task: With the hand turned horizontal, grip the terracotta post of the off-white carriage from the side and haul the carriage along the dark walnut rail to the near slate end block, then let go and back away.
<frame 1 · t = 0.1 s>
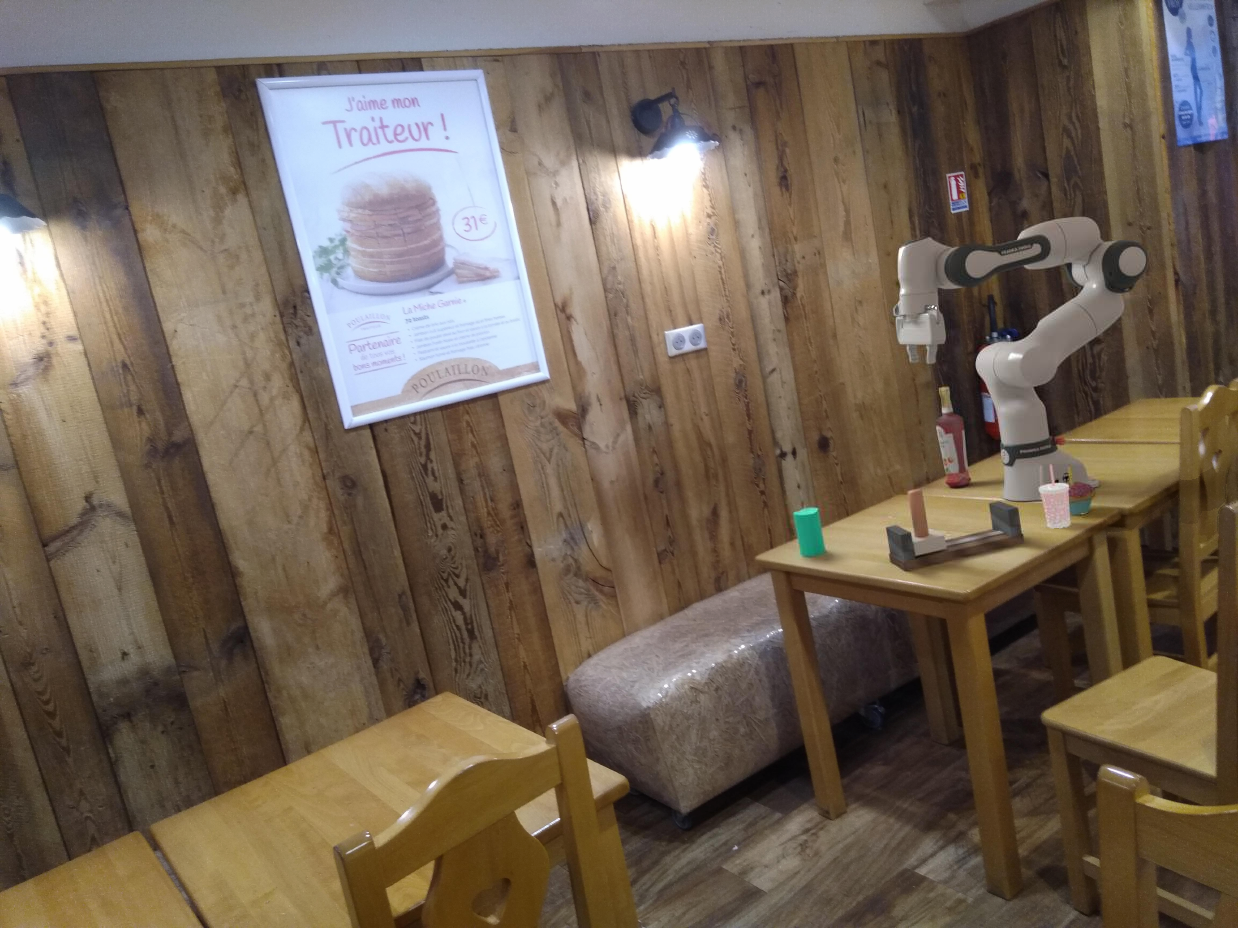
hand: (922, 363, 221), 39 cm above the table, tool pointing down, fingers open, 8 cm apart
carriage: (919, 519, 195), point 9 cm above the table, slide at 7.0 cm
candle: (813, 553, 219), on the table
rail: (956, 552, 197), on the table
beverage cup: (1059, 526, 200), on the table
cupcake: (1076, 513, 207), on the table
liquor: (959, 486, 252), on the table
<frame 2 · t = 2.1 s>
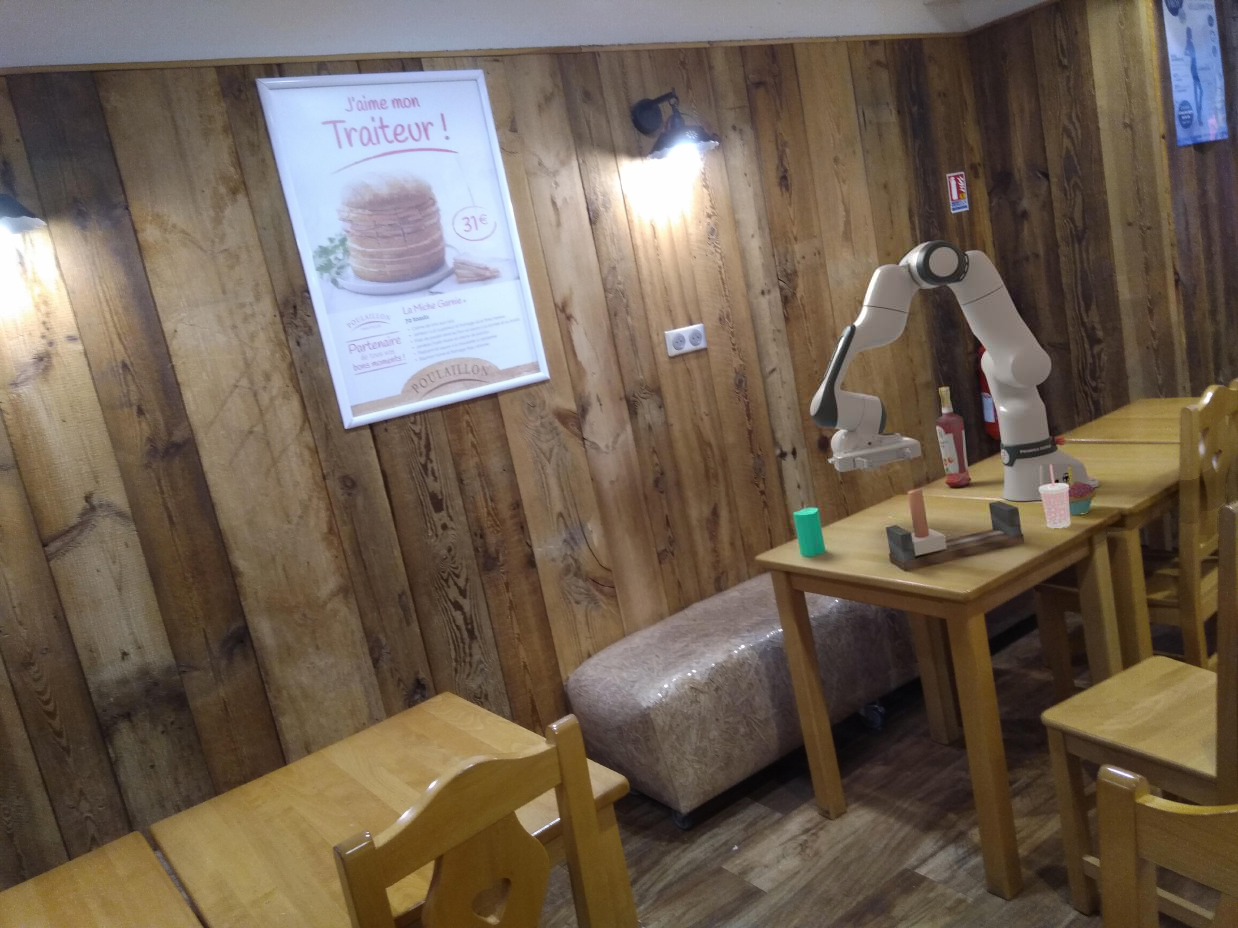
hand: (889, 460, 205), 21 cm above the table, tool horizontal, fingers open, 8 cm apart
nothing on the table moved.
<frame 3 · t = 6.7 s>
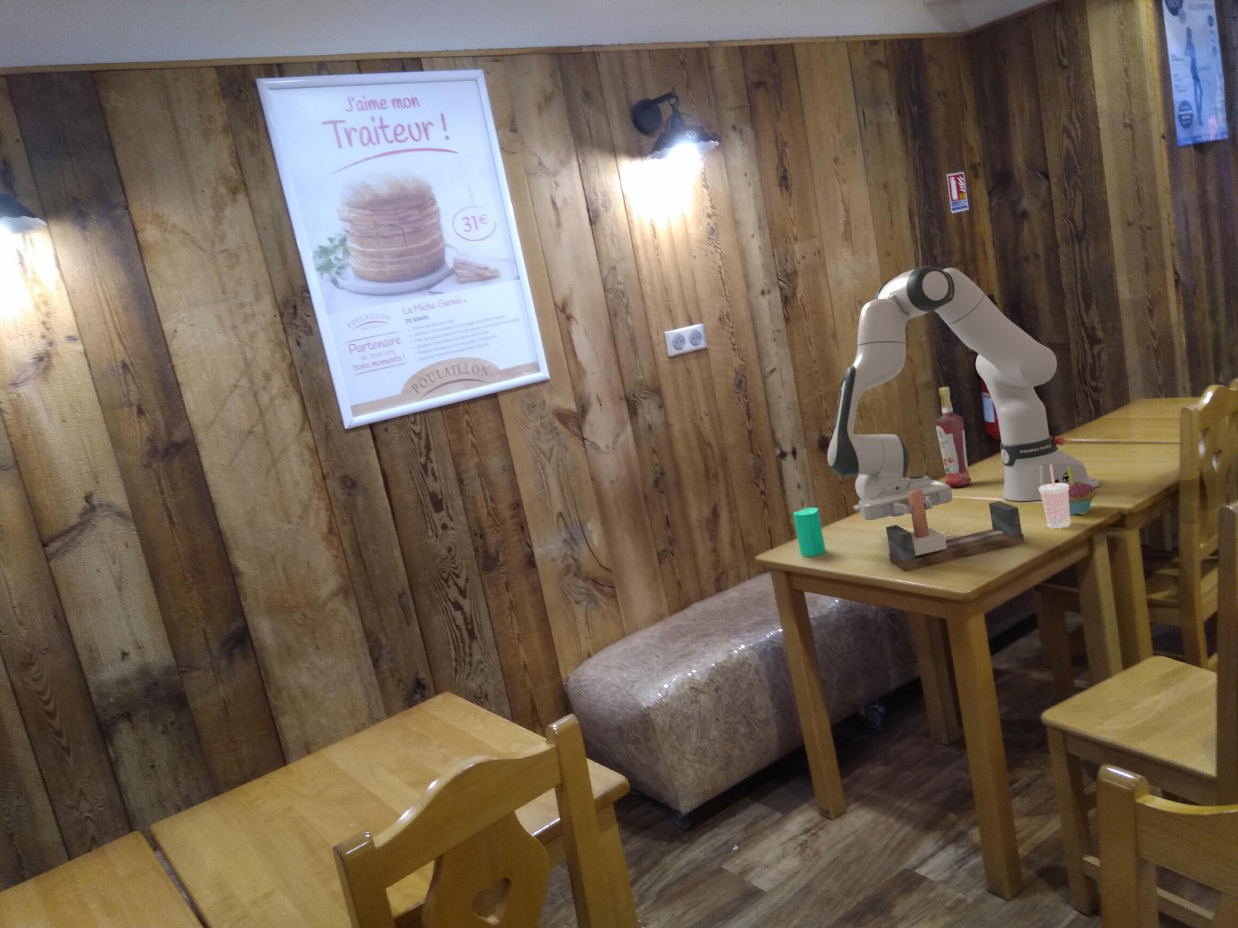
hand: (919, 507, 194), 12 cm above the table, tool horizontal, fingers closed on carriage, 3 cm apart
carriage: (919, 519, 195), point 9 cm above the table, slide at 7.0 cm, touching gripper
everything else where it was.
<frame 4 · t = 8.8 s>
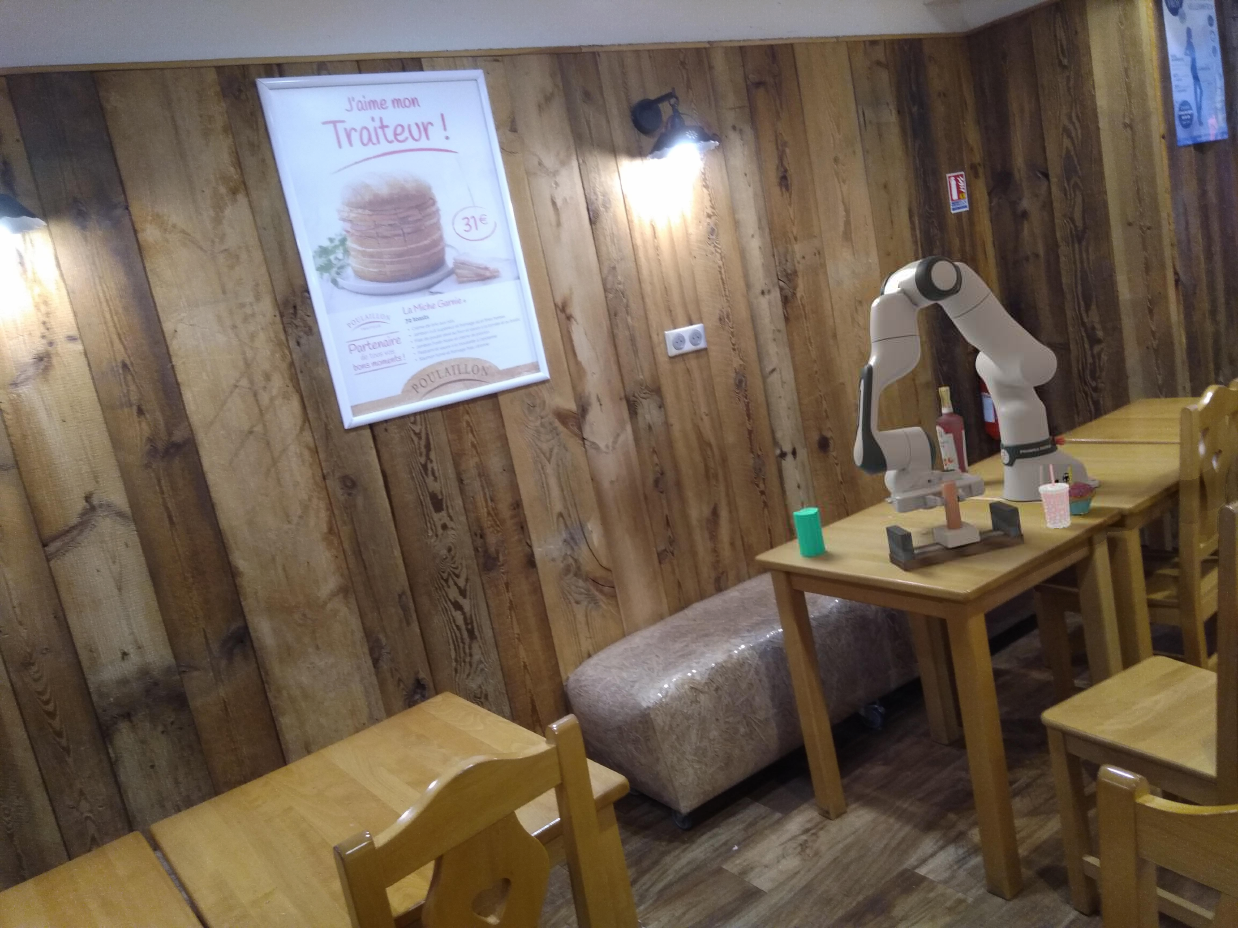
hand: (952, 500, 194), 12 cm above the table, tool horizontal, fingers closed on carriage, 3 cm apart
carriage: (952, 512, 195), point 9 cm above the table, slide at -0.6 cm, touching gripper
everything else where it was.
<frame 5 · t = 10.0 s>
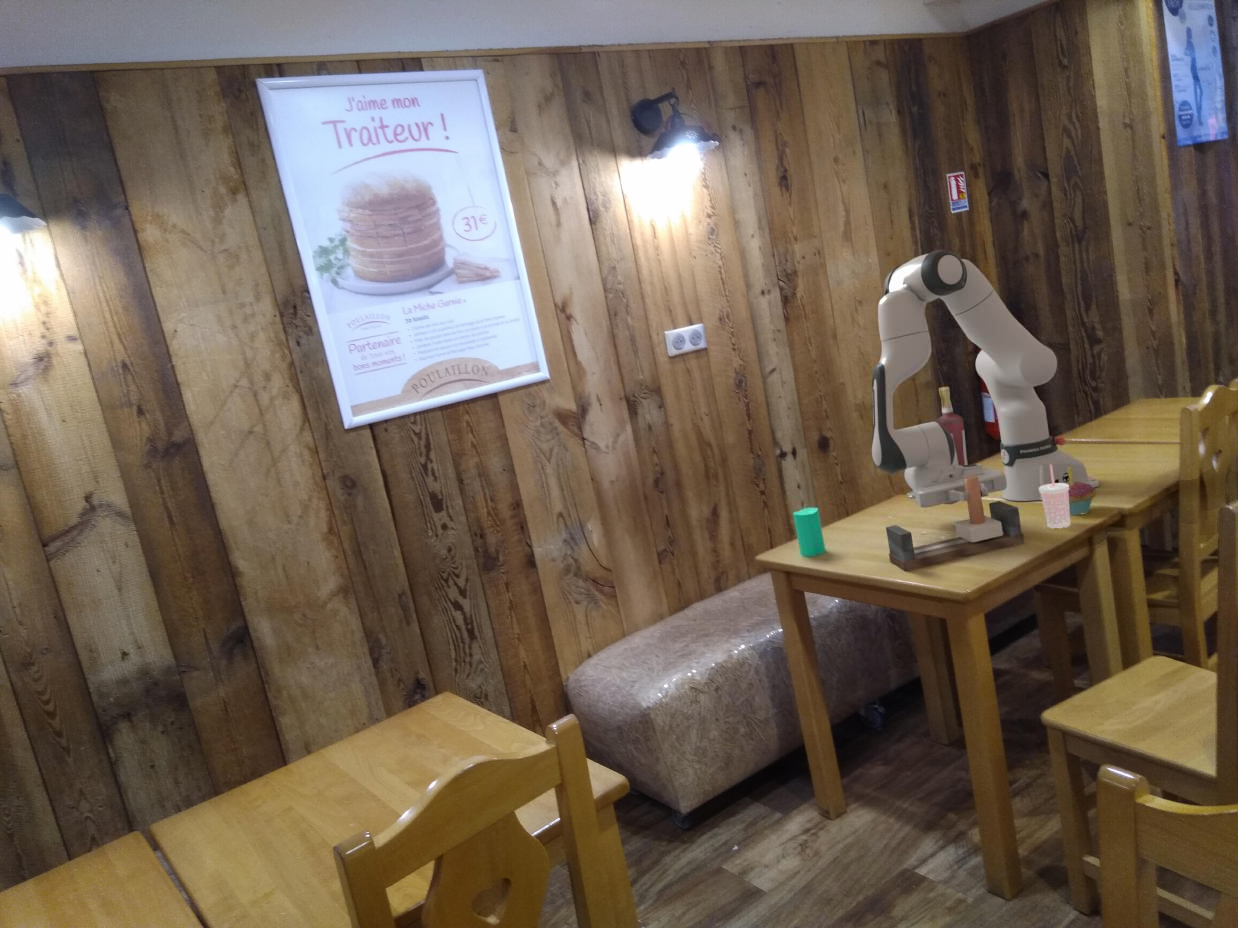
hand: (975, 494, 194), 12 cm above the table, tool horizontal, fingers closed on carriage, 3 cm apart
carriage: (975, 506, 196), point 9 cm above the table, slide at -5.8 cm, touching gripper
everything else where it was.
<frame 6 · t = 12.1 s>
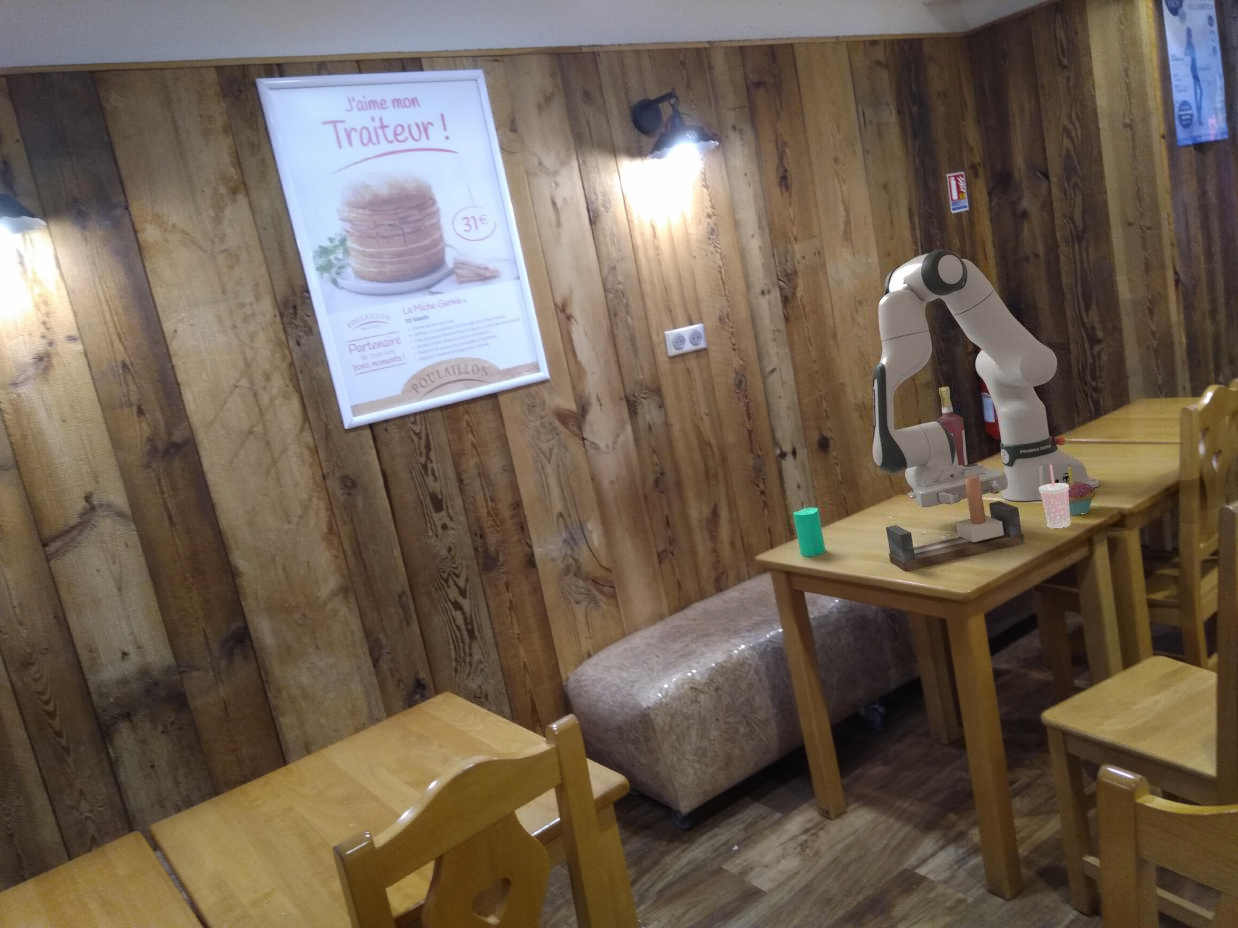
hand: (976, 494, 194), 12 cm above the table, tool horizontal, fingers open, 8 cm apart
carriage: (976, 506, 196), point 9 cm above the table, slide at -6.0 cm
everything else where it was.
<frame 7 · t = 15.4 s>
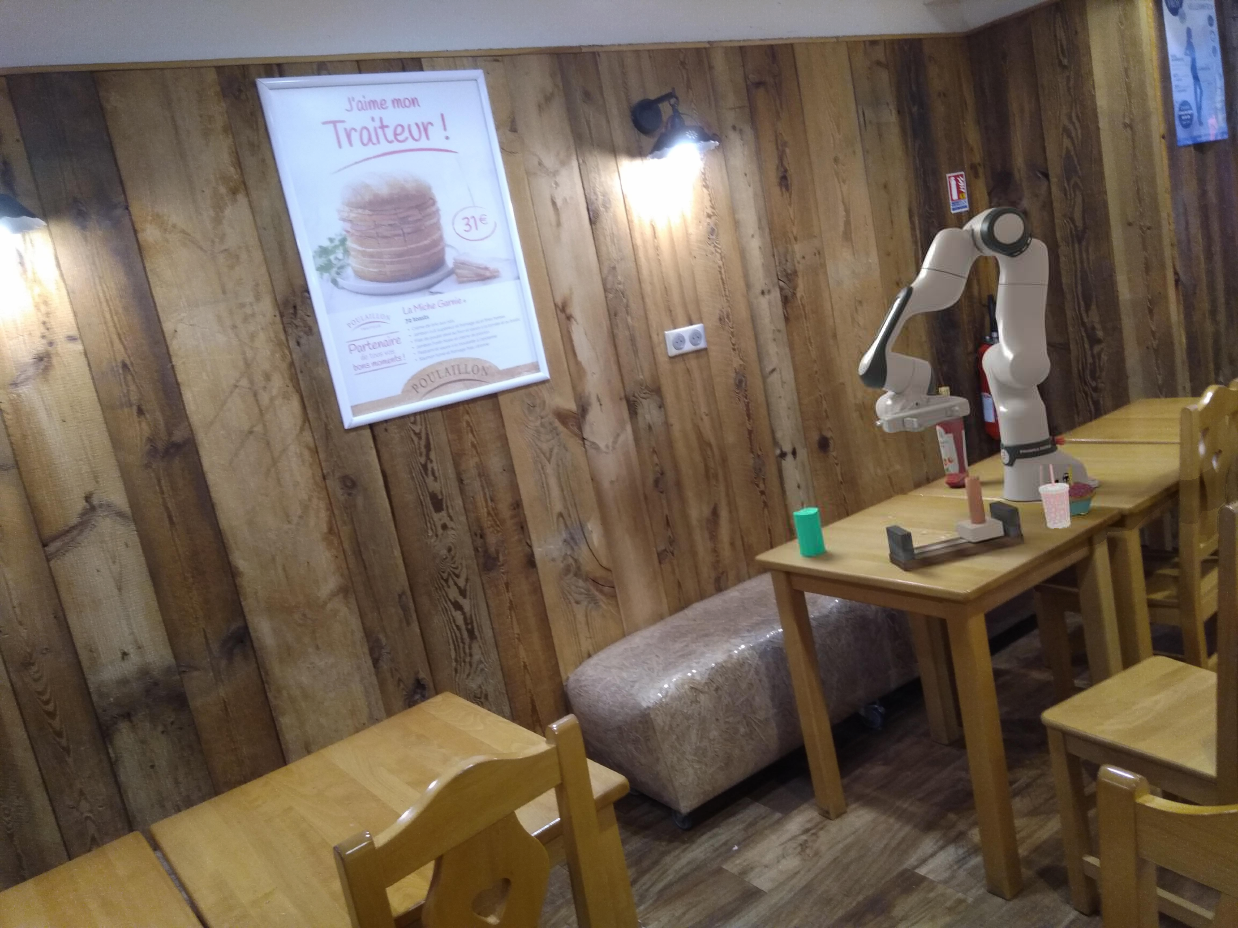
hand: (939, 418, 205), 28 cm above the table, tool horizontal, fingers open, 8 cm apart
nothing on the table moved.
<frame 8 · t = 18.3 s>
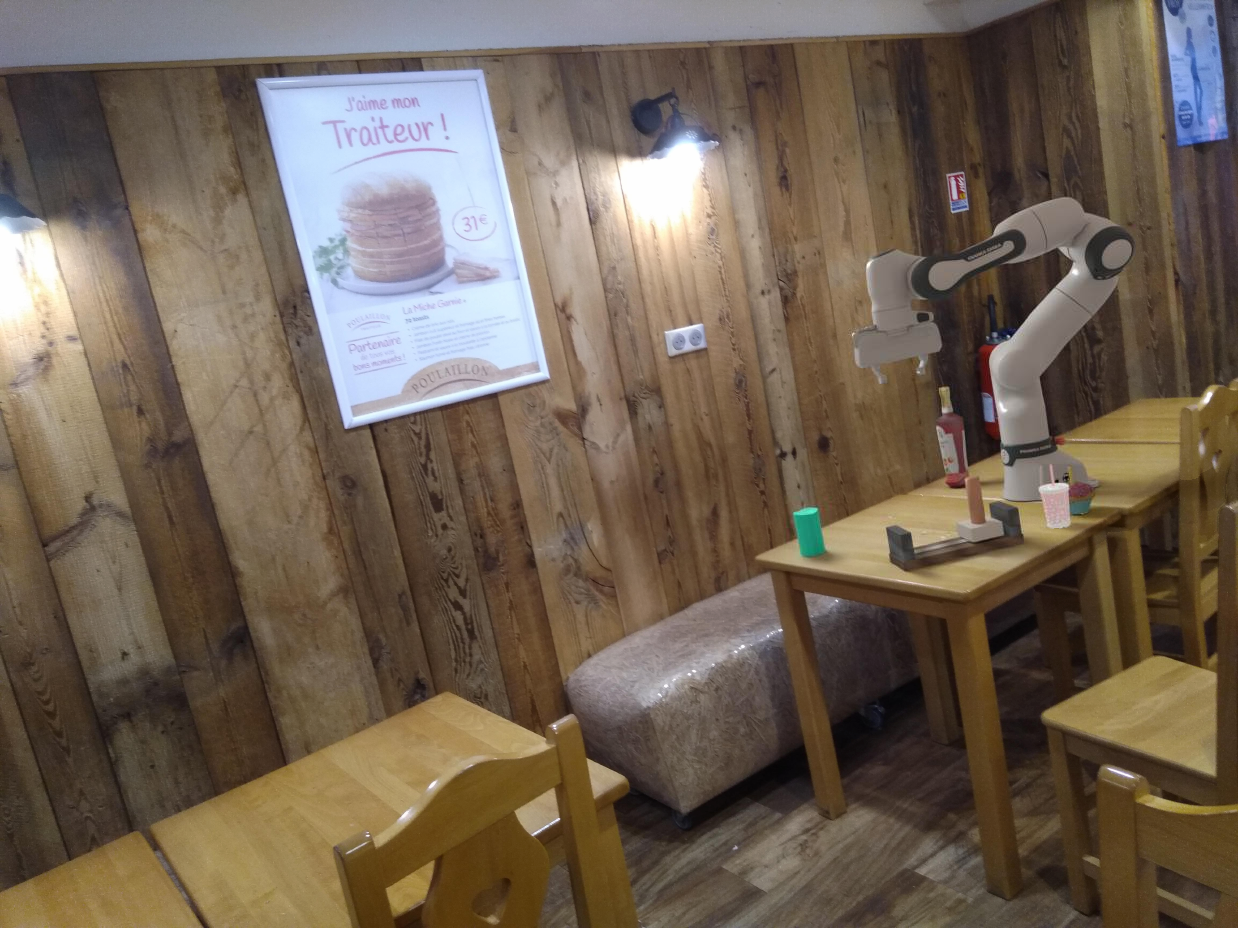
hand: (902, 379, 213), 37 cm above the table, tool pointing down, fingers open, 8 cm apart
nothing on the table moved.
at the end: carriage slide at -6.0 cm; the gripper is holding nothing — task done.
